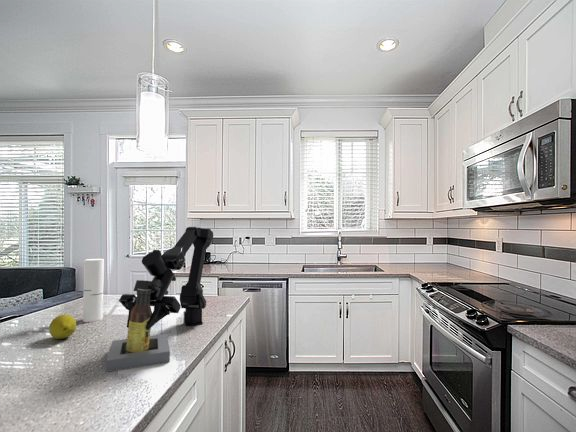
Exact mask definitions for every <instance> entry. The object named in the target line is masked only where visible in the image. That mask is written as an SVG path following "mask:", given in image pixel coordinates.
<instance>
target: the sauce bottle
mask: <svg viewBox="0 0 576 432" xmlns="http://www.w3.org/2000/svg"><path fill="white" fill-rule="evenodd" d="M150 294H151V289H148V290H143V289H137V291H136V297H137V300H136V304H135V306H134V307H133V308H132V310H131V313H130V320H129V328H127V329H128V330H127V337H126V339H127V344H126V352H125V354H128V353H135V352H142V351H149V349H148V348H149V340H150V336H151V330H152V327H151V328H150V329H149V330H147V329H146V326H147V323H148V321H149V319H150V317H151V315H152V313H153V311H152V306H150Z"/></svg>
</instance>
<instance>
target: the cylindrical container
mask: <svg viewBox="0 0 576 432" xmlns="http://www.w3.org/2000/svg"><path fill="white" fill-rule="evenodd" d="M104 272H105V259H104V258H87V259H84V261H83V292H82V296H83V297H82V299H83V300H82V322H83V323H85V322H86V323H89V322H90V323H93V322H98V321H101V320H103V319H104V318H103V317H104V315H103V314H104V284H105V283H104V280H105V279H104V277H105V276H104V274H105V273H104Z"/></svg>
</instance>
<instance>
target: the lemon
mask: <svg viewBox="0 0 576 432" xmlns="http://www.w3.org/2000/svg"><path fill="white" fill-rule="evenodd" d="M76 330H77V321H76V319H75V317H73V315H70V314H61V315H58V316H56V317H54V318H53V319H52V320H51V322H50V323H49V325H48V331H49V332H48V333H49V334H50V336H51V337H52V338H54V339H55V340H56V339H58V340H63V339H66V338H68V337H70V336H72V335H73V334H74V333H75V331H76Z"/></svg>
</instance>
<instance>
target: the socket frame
mask: <svg viewBox="0 0 576 432" xmlns="http://www.w3.org/2000/svg"><path fill="white" fill-rule="evenodd" d="M126 344H127V338H125V339H117V340H112V342H111V345H110V347H109V351H108V354H107V357H106V360H105V372H106V373H107V372H113V371H114V372H115V371H121V370H126V369H128V370H129V369H132V368H133V369H134V368H139V367H145V366H146V367H147V366H152V365H157V364H158V365H159V364H164V363H170V361H171V360H170V359H171V357H170V356H171V355H170V354H171V352H170V351H171V349H170V344H169V337H168V334H167V333H164V334H163V333H162V334H157V335H150V340H149V348H148V351H142V352H135V353H128V354H126ZM150 349H151V350H150Z"/></svg>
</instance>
